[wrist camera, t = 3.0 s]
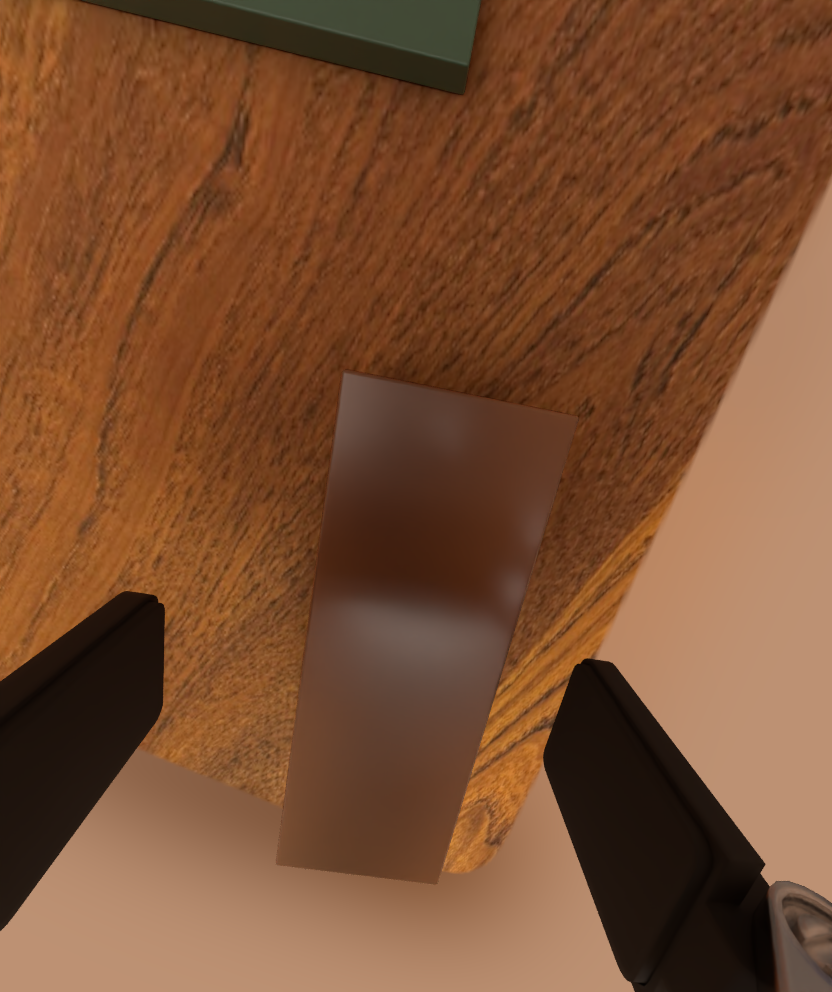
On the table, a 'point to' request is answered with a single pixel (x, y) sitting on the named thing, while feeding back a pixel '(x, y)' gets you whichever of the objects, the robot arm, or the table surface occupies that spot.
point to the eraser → (411, 617)
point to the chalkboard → (341, 31)
